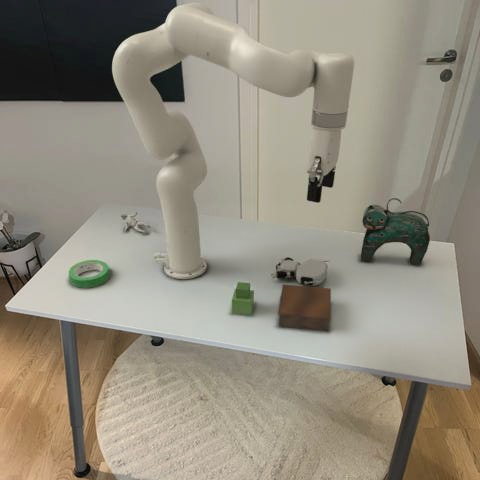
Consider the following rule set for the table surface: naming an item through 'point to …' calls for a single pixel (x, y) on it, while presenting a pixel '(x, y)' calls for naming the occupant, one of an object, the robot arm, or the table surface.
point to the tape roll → (92, 280)
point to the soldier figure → (133, 222)
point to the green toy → (243, 299)
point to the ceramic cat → (394, 232)
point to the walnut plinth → (305, 307)
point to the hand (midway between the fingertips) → (320, 193)
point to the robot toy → (302, 271)
